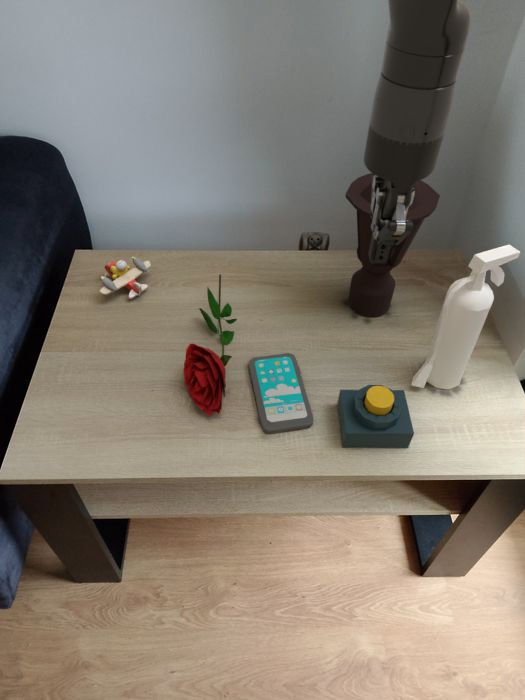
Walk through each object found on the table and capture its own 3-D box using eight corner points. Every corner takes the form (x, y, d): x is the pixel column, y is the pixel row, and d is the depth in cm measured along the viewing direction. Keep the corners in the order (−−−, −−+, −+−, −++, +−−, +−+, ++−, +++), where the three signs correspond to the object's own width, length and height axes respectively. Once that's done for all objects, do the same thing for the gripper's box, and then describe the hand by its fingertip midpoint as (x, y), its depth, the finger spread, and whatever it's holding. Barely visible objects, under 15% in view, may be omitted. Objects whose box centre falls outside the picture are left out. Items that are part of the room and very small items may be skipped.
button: (389, 393, 77) (391, 385, 75) (393, 416, 74) (396, 407, 73) (362, 393, 77) (364, 385, 75) (366, 415, 74) (368, 407, 73)
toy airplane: (108, 274, 103) (100, 248, 98) (153, 273, 104) (148, 247, 99) (101, 305, 97) (93, 279, 92) (149, 303, 98) (143, 277, 93)
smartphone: (262, 431, 77) (246, 357, 87) (262, 434, 78) (246, 361, 88) (316, 423, 78) (295, 351, 88) (316, 426, 79) (294, 355, 89)
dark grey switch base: (398, 404, 82) (407, 381, 78) (408, 448, 77) (417, 426, 73) (337, 404, 82) (341, 381, 78) (342, 447, 77) (347, 425, 72)
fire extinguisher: (394, 374, 87) (432, 256, 68) (450, 351, 90) (501, 233, 72) (419, 403, 83) (467, 286, 64) (477, 378, 86) (538, 260, 68)
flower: (201, 248, 91) (194, 390, 73) (248, 265, 94) (253, 405, 76) (182, 280, 97) (171, 419, 79) (227, 295, 101) (227, 431, 83)
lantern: (418, 326, 94) (468, 177, 72) (340, 334, 93) (367, 184, 70) (393, 275, 104) (431, 129, 82) (322, 281, 103) (341, 135, 80)
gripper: (462, 155, 47) (417, 295, 60) (430, 95, 56) (397, 229, 69) (380, 154, 47) (353, 295, 60) (361, 95, 56) (341, 228, 69)
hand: (377, 259), depth 64 cm, fingers closed
